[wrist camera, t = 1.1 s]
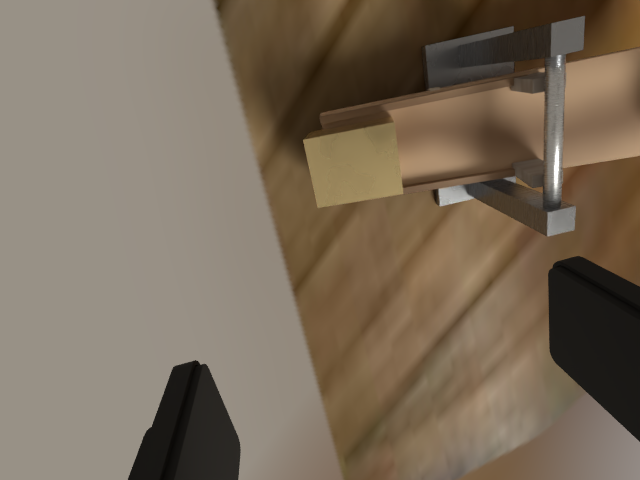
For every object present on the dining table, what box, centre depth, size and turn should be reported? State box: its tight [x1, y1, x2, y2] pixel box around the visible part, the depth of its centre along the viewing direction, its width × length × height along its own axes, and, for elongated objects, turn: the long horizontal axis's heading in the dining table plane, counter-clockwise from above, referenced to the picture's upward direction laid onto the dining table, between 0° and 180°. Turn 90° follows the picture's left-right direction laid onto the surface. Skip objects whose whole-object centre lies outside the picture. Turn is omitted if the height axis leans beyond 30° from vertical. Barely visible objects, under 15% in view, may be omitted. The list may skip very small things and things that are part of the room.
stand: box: [422, 16, 585, 236], centre depth 27 cm, size 13×7×11 cm, turn 12°
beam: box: [319, 47, 640, 205], centre depth 26 cm, size 7×28×5 cm, turn 102°
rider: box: [303, 116, 403, 208], centre depth 28 cm, size 5×6×4 cm
